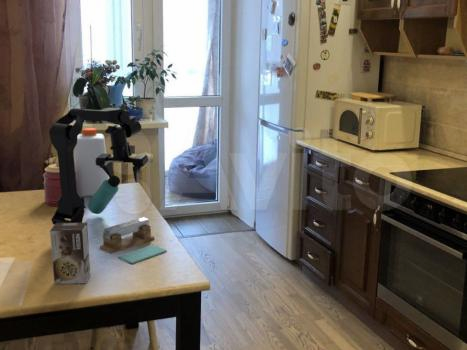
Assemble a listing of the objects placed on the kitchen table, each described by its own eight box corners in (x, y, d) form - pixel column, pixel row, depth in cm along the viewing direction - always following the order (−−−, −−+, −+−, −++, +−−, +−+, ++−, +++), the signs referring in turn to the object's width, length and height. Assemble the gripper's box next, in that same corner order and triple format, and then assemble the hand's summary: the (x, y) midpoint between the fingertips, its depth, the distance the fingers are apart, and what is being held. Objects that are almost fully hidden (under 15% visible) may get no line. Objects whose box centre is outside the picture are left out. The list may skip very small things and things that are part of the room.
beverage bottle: (96, 219, 213) (119, 190, 201) (82, 209, 212) (104, 179, 200) (104, 209, 218) (127, 179, 206) (90, 199, 217) (112, 168, 205)
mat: (132, 264, 172) (132, 262, 171) (118, 257, 176) (118, 256, 176) (166, 251, 182) (166, 250, 182) (152, 245, 186) (152, 244, 186)
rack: (110, 253, 179) (110, 238, 178) (99, 248, 183) (99, 233, 182) (154, 239, 192) (154, 224, 191) (143, 234, 196) (142, 220, 195)
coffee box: (91, 274, 164) (88, 222, 160) (86, 284, 158) (83, 229, 154) (59, 274, 163) (55, 221, 159) (53, 284, 157) (49, 229, 153)
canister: (45, 198, 236) (42, 157, 232) (77, 196, 240) (74, 155, 235) (44, 207, 224) (41, 164, 220) (78, 205, 228) (76, 162, 223)
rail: (110, 239, 180) (109, 230, 179) (104, 237, 182) (104, 228, 181) (149, 227, 192) (148, 219, 191) (143, 225, 194) (143, 217, 193)
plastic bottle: (109, 196, 240) (107, 131, 233) (73, 198, 237) (69, 132, 230) (110, 187, 255) (107, 125, 248) (75, 188, 252) (72, 126, 245)
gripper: (151, 135, 209) (155, 173, 215) (104, 134, 213) (110, 172, 219) (140, 145, 199) (145, 185, 205) (91, 144, 203) (98, 183, 209)
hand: (125, 181), depth 210 cm, fingers open, 9 cm apart
